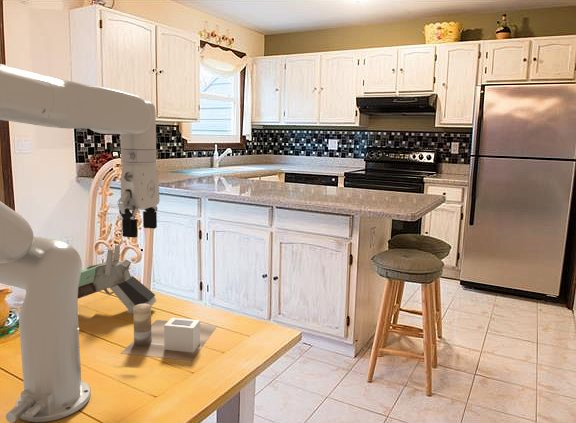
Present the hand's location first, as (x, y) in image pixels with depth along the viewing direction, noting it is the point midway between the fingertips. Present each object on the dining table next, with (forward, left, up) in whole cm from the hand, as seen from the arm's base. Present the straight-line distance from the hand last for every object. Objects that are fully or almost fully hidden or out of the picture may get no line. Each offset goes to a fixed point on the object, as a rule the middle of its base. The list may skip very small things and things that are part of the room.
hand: (140, 232), depth 102 cm
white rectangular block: (0, -10, -27) cm, 29 cm away
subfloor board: (+3, -6, -28) cm, 29 cm away
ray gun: (+17, +23, -29) cm, 40 cm away
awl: (0, 0, -27) cm, 27 cm away
